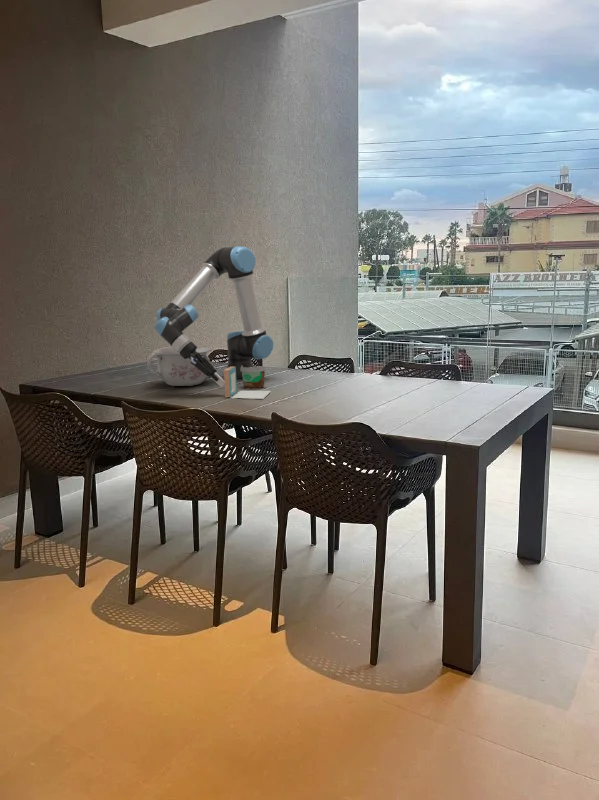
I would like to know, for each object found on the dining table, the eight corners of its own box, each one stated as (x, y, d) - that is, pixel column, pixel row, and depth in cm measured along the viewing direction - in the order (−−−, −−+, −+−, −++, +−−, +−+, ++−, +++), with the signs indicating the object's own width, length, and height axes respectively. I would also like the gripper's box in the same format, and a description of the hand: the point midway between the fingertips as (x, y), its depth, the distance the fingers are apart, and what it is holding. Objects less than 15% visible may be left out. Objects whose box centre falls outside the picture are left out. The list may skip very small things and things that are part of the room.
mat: (240, 391, 286) (240, 390, 286) (271, 392, 284) (271, 390, 283) (230, 399, 270) (230, 398, 270) (263, 399, 268) (263, 398, 268)
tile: (231, 393, 284) (230, 366, 281) (237, 393, 283) (235, 366, 281) (225, 397, 274) (223, 370, 271) (231, 398, 274) (229, 370, 271)
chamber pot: (219, 379, 320) (217, 337, 315) (206, 389, 293) (203, 344, 289) (164, 379, 322) (161, 338, 318) (146, 390, 296) (143, 345, 291)
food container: (236, 389, 293) (235, 367, 291) (242, 386, 299) (241, 365, 297) (261, 390, 289) (260, 368, 287) (266, 387, 295) (265, 366, 293)
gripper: (184, 351, 285) (222, 388, 285) (174, 355, 272) (214, 394, 273) (195, 339, 283) (233, 376, 283) (185, 342, 270) (225, 381, 271)
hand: (224, 385), depth 278 cm, fingers closed
